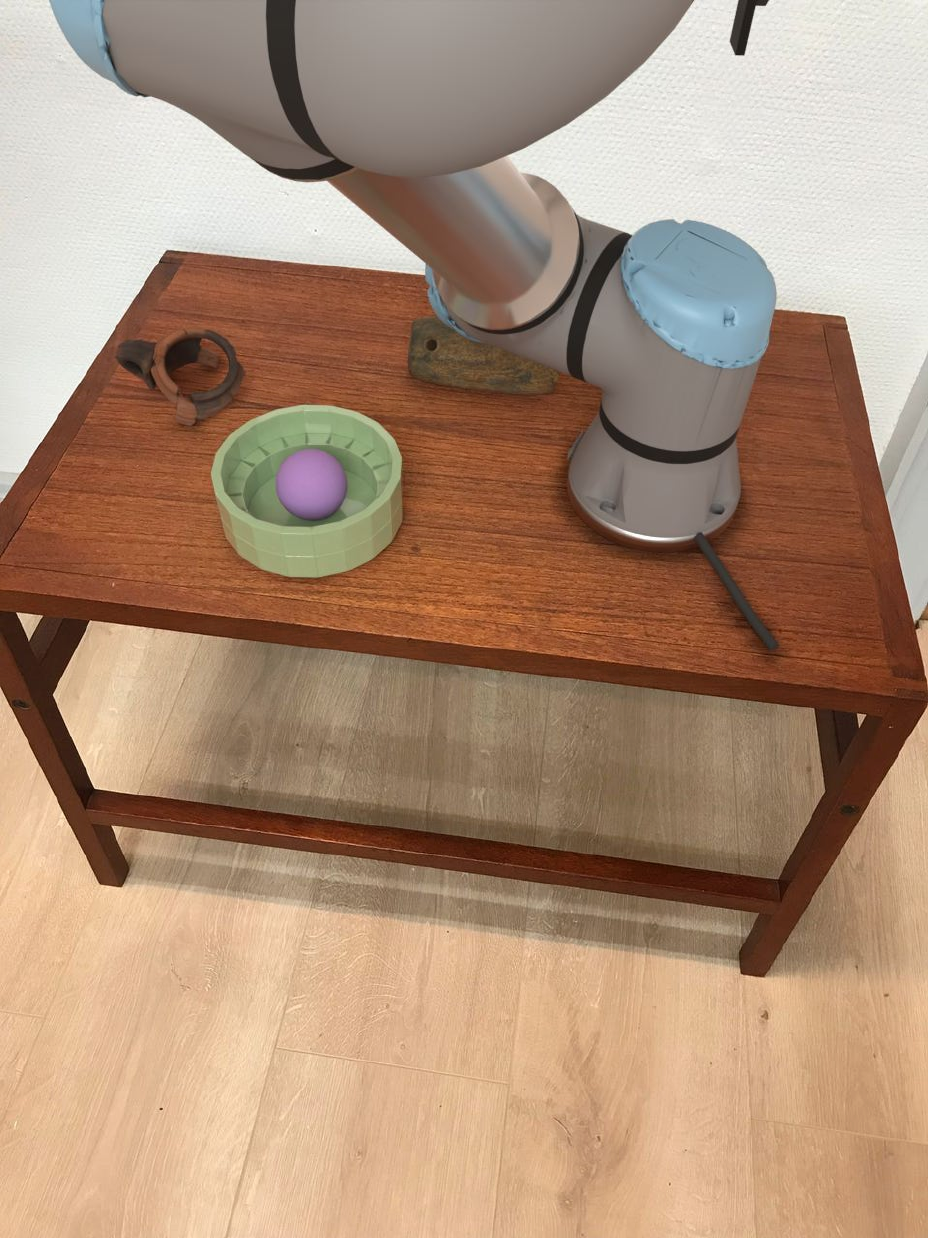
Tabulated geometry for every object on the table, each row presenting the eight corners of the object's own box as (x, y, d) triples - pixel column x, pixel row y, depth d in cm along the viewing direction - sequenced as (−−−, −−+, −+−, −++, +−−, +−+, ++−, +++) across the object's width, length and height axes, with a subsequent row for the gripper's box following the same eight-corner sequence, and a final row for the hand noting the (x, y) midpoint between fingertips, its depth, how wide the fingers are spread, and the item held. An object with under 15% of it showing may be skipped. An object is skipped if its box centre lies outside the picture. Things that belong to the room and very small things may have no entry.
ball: (345, 536, 83) (343, 485, 79) (274, 533, 83) (267, 481, 78) (350, 487, 87) (349, 436, 82) (283, 483, 87) (277, 431, 82)
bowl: (398, 586, 81) (396, 535, 76) (209, 581, 81) (195, 531, 76) (407, 458, 91) (405, 406, 86) (238, 454, 90) (228, 402, 86)
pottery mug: (248, 363, 100) (253, 325, 92) (234, 450, 98) (238, 419, 90) (125, 337, 97) (119, 296, 89) (108, 426, 95) (101, 392, 87)
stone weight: (406, 402, 96) (404, 344, 90) (412, 358, 100) (411, 300, 95) (559, 410, 95) (567, 352, 90) (559, 365, 100) (565, 308, 94)
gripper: (886, -316, 65) (796, 30, 82) (514, -326, 65) (499, 24, 82) (919, -293, 61) (816, 69, 77) (518, -303, 60) (501, 63, 77)
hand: (653, 47), depth 80 cm, fingers open, 13 cm apart
